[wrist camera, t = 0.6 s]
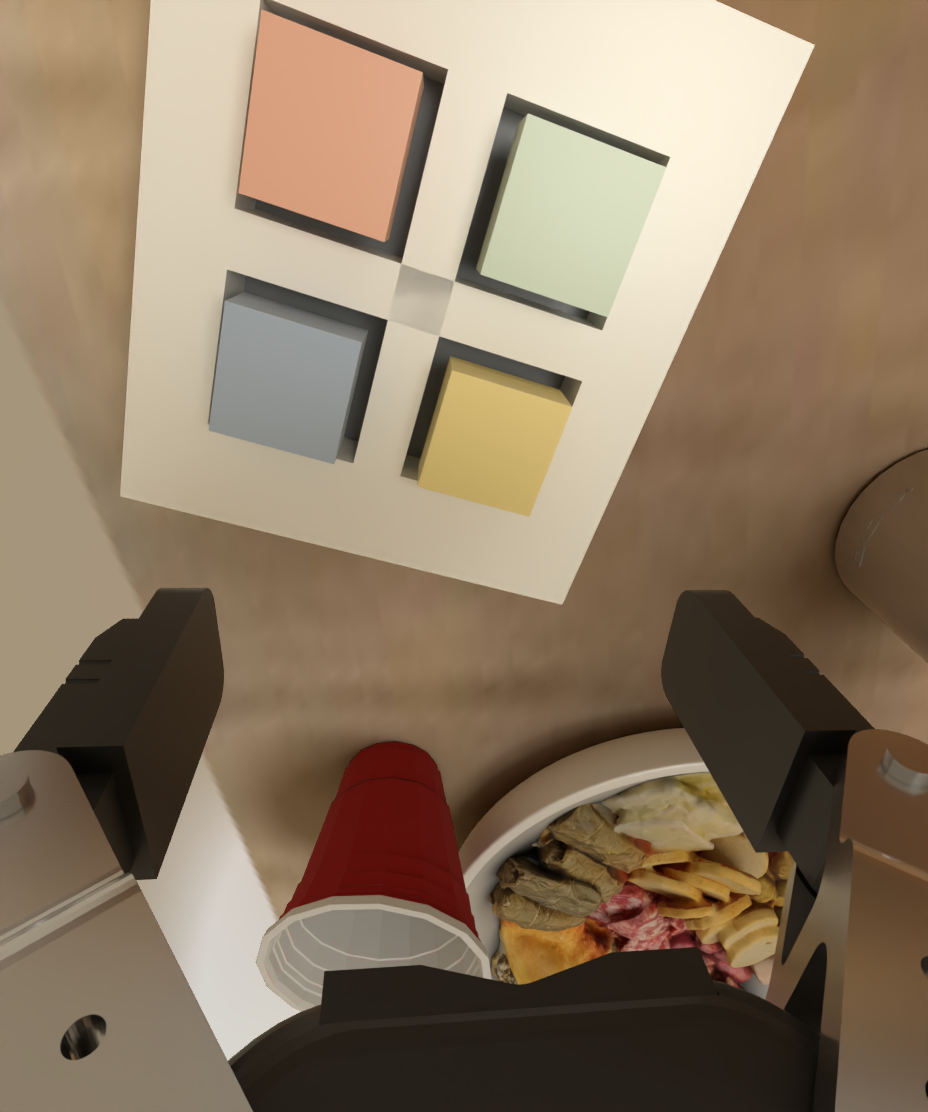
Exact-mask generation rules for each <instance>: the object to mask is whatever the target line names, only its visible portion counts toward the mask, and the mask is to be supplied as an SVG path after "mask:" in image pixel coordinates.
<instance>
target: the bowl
mask: <svg viewBox="0 0 928 1112" xmlns="http://www.w3.org/2000/svg"><path fill="white" fill-rule="evenodd" d="M458 853H459V858H460V863H461V868H462V873H463V878H464V883H465V888H466V892H467V893H468V895H469V900H470V906H471V913H472V915H473V916H474V920H475V927H476V931H477V932H478V936H479V939H480V940H481V943H482V944H483V945H484V946H485V947H486V949H487V953H488V957H489V964H490V972H491V980H496V981H501V982H506V983H510V984H518V985H519V984H527V983H531V982H534V981H537V980H539V979H542V978H545V977H547V976H550V975H552V974H555V973H558V972H560V971H563V970H566V969H568V968H571V967H574V966H576V965H579V964H582V963H584V962H587V961H590V960H592V959H595V958H598V957H600V956H603V955H605V954H608V953H611V952H625V951H641V950H656V949H672V948H687V947H698V948H699V950H700V952H701V955H702V957H703V960H704V962H705V964H706V967H707V969H708V972H709V974H710V976H711V979H712V980H715V981H720V982H723V983H726V984H729V985H732V986H735V987H738V988H741V989H744V990H746V991H748V992H750V993H752V994H754V995H757V996H759V997H761V998H763V999H765V998H766V995H767V991H768V987H769V983H770V978H771V972H772V967H773V961H774V955H775V949H776V944H777V938H778V932H779V926H780V921H781V915H782V909H783V903H784V898H785V892H786V886H787V880H788V876H789V873H790V871H791V869H792V867H793V864H794V862H795V861H794V859H793V858H792V856H791V855H790V853H789V851H784V852H763V853H756V852H755V851H754V849H753V847H752V845H751V844H750V842H749V840H748V838H747V837H746V835H745V833H744V831H743V830H742V828H741V826H740V824H739V823H738V821H737V819H736V817H735V816H734V814H733V812H732V810H731V809H730V807H729V805H728V803H727V802H726V800H725V798H724V796H723V795H722V793H721V791H720V789H719V788H718V786H717V784H716V782H715V781H714V779H713V777H712V776H711V774H710V772H709V770H708V769H707V767H706V765H705V763H704V762H703V760H702V758H701V756H700V755H699V753H698V751H697V749H696V748H695V746H694V744H693V742H692V741H691V739H690V737H689V735H688V734H687V732H686V730H685V728H675V729H666V730H658V731H651V732H645V733H640V734H635V735H630V736H626V737H622V738H618V739H614V740H611V741H607V742H604V743H601V744H598V745H595V746H592V747H589V748H586V749H584V750H581V751H579V752H576V753H574V754H571V755H569V756H567V757H565V758H563V759H561V760H559V761H557V762H555V763H553V764H551V765H549V766H547V767H545V768H544V769H542V770H540V771H539V772H537V773H535V774H534V775H532V776H531V777H529V778H528V779H526V780H525V781H523V782H522V783H520V784H519V785H518V786H516V787H515V788H514V789H512V790H511V791H510V792H509V793H507V794H506V795H505V796H504V797H503V798H502V799H500V800H499V801H498V802H497V803H496V804H495V805H494V806H493V807H492V808H491V809H490V810H489V811H488V812H487V813H486V814H485V815H484V817H483V818H482V819H481V820H480V821H479V822H478V824H477V825H476V826H475V827H474V829H473V830H472V831H471V833H470V834H469V836H468V837H467V839H466V840H465V842H464V843H463V845H462V847H461V849H460V850H459V852H458Z"/></svg>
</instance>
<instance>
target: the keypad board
mask: <svg viewBox="0 0 928 1112" xmlns="http://www.w3.org/2000/svg"><path fill="white" fill-rule="evenodd" d="M261 10H265V11H267V12H270V13H272V14H275V15H277V16H280V17H282V18H285V19H288V20H290V21H293V22H295V23H298V24H300V25H303V26H306V27H308V28H311V29H313V30H316V31H318V32H321V33H323V34H326V35H329V36H331V37H334V38H336V39H339V40H341V41H344V42H347V43H349V44H352V45H354V46H357V47H359V48H362V49H364V50H367V51H370V52H372V53H375V54H377V55H380V56H382V57H385V58H387V59H390V60H393V61H395V62H398V63H400V64H403V65H405V66H408V67H411V68H413V69H416V70H418V71H421V72H423V82H424V89H423V93H422V97H421V102H420V106H419V110H418V115H417V119H416V124H415V128H414V132H413V137H412V141H411V145H410V150H409V154H408V159H407V163H406V167H405V172H404V176H403V180H402V185H401V189H400V194H399V198H398V202H397V207H396V211H395V215H394V220H393V224H392V229H391V233H390V237H389V239H388V240H387V241H385V242H383V241H380V240H377V239H374V238H371V237H368V236H365V235H362V234H359V233H356V232H353V231H350V230H347V229H344V228H341V227H338V226H335V225H332V224H329V223H326V222H323V221H320V220H317V219H314V218H311V217H308V216H305V215H302V214H299V213H296V212H294V211H291V210H288V209H285V208H282V207H279V206H276V205H273V204H270V203H267V202H264V201H261V200H258V199H255V198H252V197H249V196H246V195H243V194H240V193H239V185H240V177H241V169H242V161H243V153H244V145H245V137H246V129H247V121H248V113H249V105H250V98H251V90H252V82H253V74H254V66H255V58H256V50H257V42H258V34H259V26H260V18H261ZM814 46H815V45H813V44H811V43H809V42H806V41H804V40H802V39H800V38H798V37H795V36H793V35H791V34H789V33H786V32H784V31H782V30H780V29H778V28H775V27H773V26H771V25H769V24H766V23H764V22H762V21H760V20H758V19H755V18H753V17H751V16H749V15H746V14H744V13H742V12H740V11H738V10H735V9H733V8H731V7H729V6H726V5H724V4H722V3H720V2H718V1H715V0H151V6H150V22H149V39H148V55H147V71H146V87H145V103H144V119H143V135H142V151H141V167H140V183H139V200H138V216H137V232H136V248H135V264H134V280H133V296H132V312H131V328H130V344H129V360H128V377H127V393H126V409H125V425H124V441H123V457H122V473H121V489H120V497H124V498H128V499H132V500H137V501H141V502H145V503H149V504H153V505H157V506H161V507H165V508H169V509H173V510H177V511H181V512H186V513H190V514H194V515H198V516H202V517H206V518H210V519H214V520H218V521H222V522H226V523H230V524H234V525H239V526H243V527H247V528H251V529H255V530H259V531H263V532H267V533H271V534H275V535H279V536H283V537H288V538H292V539H296V540H300V541H304V542H308V543H312V544H316V545H320V546H324V547H328V548H332V549H336V550H341V551H345V552H349V553H353V554H357V555H361V556H365V557H369V558H373V559H377V560H381V561H385V562H390V563H394V564H398V565H402V566H406V567H410V568H414V569H418V570H422V571H426V572H430V573H434V574H438V575H443V576H447V577H451V578H455V579H459V580H463V581H467V582H471V583H475V584H479V585H483V586H487V587H492V588H496V589H500V590H504V591H508V592H512V593H516V594H520V595H524V596H528V597H532V598H536V599H541V600H545V601H549V602H553V603H557V604H561V605H562V604H563V602H564V600H565V598H566V595H567V593H568V591H569V589H570V586H571V584H572V582H573V580H574V578H575V575H576V573H577V571H578V569H579V566H580V564H581V562H582V560H583V558H584V555H585V553H586V551H587V549H588V547H589V544H590V542H591V540H592V538H593V535H594V533H595V531H596V529H597V527H598V524H599V522H600V520H601V518H602V516H603V513H604V511H605V509H606V507H607V504H608V502H609V500H610V498H611V496H612V493H613V491H614V489H615V487H616V484H617V482H618V480H619V478H620V476H621V473H622V471H623V469H624V467H625V465H626V462H627V460H628V458H629V456H630V453H631V451H632V449H633V447H634V445H635V442H636V440H637V438H638V436H639V433H640V431H641V429H642V427H643V425H644V422H645V420H646V418H647V416H648V414H649V411H650V409H651V407H652V405H653V402H654V400H655V398H656V396H657V394H658V391H659V389H660V387H661V385H662V383H663V380H664V378H665V376H666V374H667V371H668V369H669V367H670V365H671V363H672V360H673V358H674V356H675V354H676V351H677V349H678V347H679V345H680V343H681V340H682V338H683V336H684V334H685V332H686V329H687V327H688V325H689V323H690V320H691V318H692V316H693V314H694V312H695V309H696V307H697V305H698V303H699V301H700V298H701V296H702V294H703V292H704V289H705V287H706V285H707V283H708V281H709V278H710V276H711V274H712V272H713V269H714V267H715V265H716V263H717V261H718V258H719V256H720V254H721V252H722V250H723V247H724V245H725V243H726V241H727V238H728V236H729V234H730V232H731V230H732V227H733V225H734V223H735V221H736V219H737V216H738V214H739V212H740V210H741V207H742V205H743V203H744V201H745V199H746V196H747V194H748V192H749V190H750V187H751V185H752V183H753V181H754V179H755V176H756V174H757V172H758V170H759V168H760V165H761V163H762V161H763V159H764V156H765V154H766V152H767V150H768V148H769V145H770V143H771V141H772V139H773V137H774V134H775V132H776V130H777V128H778V125H779V123H780V121H781V119H782V117H783V114H784V112H785V110H786V108H787V105H788V103H789V101H790V99H791V97H792V94H793V92H794V90H795V88H796V86H797V83H798V81H799V79H800V77H801V74H802V72H803V70H804V68H805V66H806V63H807V61H808V59H809V57H810V55H811V52H812V50H813V48H814ZM527 114H531V115H534V116H536V117H539V118H541V119H544V120H546V121H549V122H551V123H554V124H557V125H559V126H562V127H564V128H567V129H569V130H572V131H574V132H577V133H580V134H582V135H585V136H587V137H590V138H592V139H595V140H598V141H600V142H603V143H605V144H608V145H610V146H613V147H615V148H618V149H621V150H623V151H626V152H628V153H631V154H633V155H636V156H639V157H641V158H644V159H646V160H649V161H651V162H654V163H656V164H659V165H662V166H664V167H667V168H666V170H665V173H664V175H663V178H662V181H661V183H660V186H659V188H658V191H657V193H656V196H655V198H654V201H653V203H652V206H651V209H650V211H649V214H648V216H647V219H646V221H645V224H644V226H643V229H642V231H641V234H640V237H639V239H638V242H637V244H636V247H635V249H634V252H633V254H632V257H631V259H630V262H629V265H628V267H627V270H626V272H625V275H624V277H623V280H622V282H621V285H620V287H619V290H618V293H617V295H616V298H615V300H614V303H613V305H612V308H611V310H610V313H609V315H608V317H605V316H602V315H599V314H596V313H593V312H590V311H587V310H584V309H581V308H578V307H575V306H572V305H569V304H566V303H563V302H561V301H558V300H555V299H552V298H549V297H546V296H543V295H540V294H537V293H534V292H531V291H528V290H525V289H522V288H519V287H516V286H513V285H510V284H507V283H504V282H501V281H498V280H495V279H492V278H489V277H486V276H483V275H480V273H479V272H478V271H477V269H476V266H477V263H478V259H479V256H480V252H481V249H482V245H483V242H484V238H485V235H486V232H487V228H488V225H489V221H490V218H491V214H492V211H493V208H494V204H495V201H496V197H497V194H498V190H499V187H500V184H501V180H502V177H503V173H504V170H505V166H506V163H507V160H508V156H509V153H510V149H511V146H512V142H513V139H514V136H515V132H516V129H517V125H518V123H519V122H520V121H521V120H522V119H523V118H524V117H525V116H526V115H527ZM244 292H246V293H249V294H252V295H255V296H259V297H262V298H265V299H268V300H272V301H275V302H278V303H281V304H285V305H288V306H291V307H294V308H297V309H301V310H304V311H307V312H310V313H314V314H317V315H320V316H323V317H326V318H330V319H333V320H336V321H339V322H343V323H346V324H349V325H352V326H355V327H359V328H362V329H365V330H368V334H367V338H366V342H365V347H364V351H363V355H362V360H361V364H360V368H359V373H358V377H357V382H356V386H355V390H354V395H353V399H352V403H351V408H350V412H349V417H348V421H347V425H346V430H345V434H344V438H343V443H342V445H341V448H340V451H339V453H338V456H337V458H336V461H335V464H331V463H327V462H324V461H320V460H316V459H312V458H309V457H305V456H301V455H298V454H294V453H290V452H286V451H283V450H279V449H275V448H272V447H268V446H264V445H260V444H257V443H253V442H249V441H246V440H242V439H238V438H234V437H231V436H227V435H223V434H220V433H216V432H212V431H209V424H210V416H211V408H212V400H213V392H214V384H215V376H216V368H217V360H218V352H219V344H220V336H221V328H222V320H223V312H224V304H225V301H226V300H228V299H230V298H232V297H235V296H237V295H239V294H242V293H244ZM450 356H452V357H455V358H459V359H462V360H465V361H468V362H472V363H475V364H478V365H481V366H484V367H488V368H491V369H494V370H497V371H501V372H504V373H507V374H510V375H513V376H517V377H520V378H523V379H526V380H530V381H533V382H536V383H539V384H542V385H546V386H549V387H552V388H555V389H559V390H561V392H562V393H563V394H564V396H565V397H566V399H567V400H568V402H569V403H570V404H571V406H572V410H571V412H570V415H569V417H568V420H567V422H566V425H565V428H564V430H563V433H562V435H561V438H560V440H559V443H558V445H557V448H556V450H555V453H554V456H553V458H552V461H551V463H550V466H549V468H548V471H547V473H546V476H545V478H544V481H543V484H542V486H541V489H540V491H539V494H538V496H537V499H536V501H535V504H534V506H533V509H532V512H531V514H530V517H528V516H524V515H521V514H517V513H513V512H509V511H506V510H502V509H498V508H495V507H491V506H487V505H483V504H480V503H476V502H472V501H469V500H465V499H461V498H457V497H454V496H450V495H446V494H443V493H439V492H435V491H431V490H428V489H424V488H420V487H418V470H419V462H420V458H421V455H422V451H423V448H424V444H425V441H426V438H427V434H428V431H429V427H430V424H431V420H432V417H433V414H434V410H435V407H436V403H437V400H438V396H439V393H440V389H441V386H442V383H443V379H444V376H445V372H446V369H447V365H448V362H449V359H450Z"/></svg>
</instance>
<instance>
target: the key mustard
mask: <svg viewBox="0 0 928 1112" xmlns="http://www.w3.org/2000/svg"><path fill="white" fill-rule="evenodd" d="M571 410H572V406H571V404H570V403H569V402H568V400H567V399H566V397H565V396H564V394H563V393H562V392H561V390H559V389H555V388H552V387H549V386H546V385H542V384H539V383H536V382H533V381H530V380H526V379H523V378H520V377H517V376H513V375H510V374H507V373H504V372H501V371H497V370H494V369H491V368H488V367H484V366H481V365H478V364H475V363H472V362H468V361H465V360H462V359H459V358H455V357H452V356H450V359H449V362H448V365H447V369H446V372H445V376H444V379H443V383H442V386H441V389H440V393H439V396H438V400H437V403H436V407H435V410H434V414H433V417H432V420H431V424H430V427H429V431H428V434H427V438H426V441H425V444H424V448H423V451H422V455H421V458H420V462H419V470H418V487H420V488H424V489H428V490H431V491H435V492H439V493H443V494H446V495H450V496H454V497H457V498H461V499H465V500H469V501H472V502H476V503H480V504H483V505H487V506H491V507H495V508H498V509H502V510H506V511H509V512H513V513H517V514H521V515H524V516H528V517H530V514H531V512H532V509H533V506H534V504H535V501H536V499H537V496H538V494H539V491H540V489H541V486H542V484H543V481H544V478H545V476H546V473H547V471H548V468H549V466H550V463H551V461H552V458H553V456H554V453H555V450H556V448H557V445H558V443H559V440H560V438H561V435H562V433H563V430H564V428H565V425H566V422H567V420H568V417H569V415H570V412H571Z"/></svg>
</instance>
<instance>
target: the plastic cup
mask: <svg viewBox="0 0 928 1112" xmlns="http://www.w3.org/2000/svg"><path fill="white" fill-rule="evenodd" d="M256 964H257V966H258V968H259V970H260V972H261V975H262V977H263V979H264V981H265V983H266V986H267V987H268V988H269V989H270V990H272V991H273V992H274V993H275V994H277V995H278V996H279V997H280V998H282V999H283V1000H284V1001H285V1002H287V1003H288V1004H289V1005H290V1006H291V1007H293V1008H295V1009H297V1010H299V1011H304V1010H307V1009H310V1008H312V1007H315V1006H318V1005H320V1004H321V1000H322V990H323V979H324V971H334V970H349V969H364V968H380V967H395V966H410V965H424V966H429V967H434V968H439V969H443V970H448V971H453V972H458V973H462V974H467V975H472V976H477V977H482V978H486V979H491V972H490V964H489V957H488V953H487V949H486V947H485V946H484V945H483V944H482V943H481V940H480V939H479V936H478V932H477V931H476V927H475V920H474V916H473V915H472V913H471V906H470V900H469V895H468V893H467V892H466V888H465V883H464V878H463V873H462V868H461V863H460V858H459V853H458V849H457V844H456V839H455V834H454V829H453V824H452V819H451V814H450V809H449V806H448V805H447V803H446V799H445V794H444V789H443V784H442V779H441V774H440V772H439V770H438V768H437V764H436V763H435V762H434V761H433V759H432V758H431V757H430V755H429V754H428V753H426V752H425V751H423V750H421V749H419V748H417V747H416V746H414V745H410V744H405V743H400V742H388V743H377V744H375V745H372V746H370V747H368V748H365V749H363V750H361V751H360V752H359V753H358V754H357V755H356V756H355V757H354V758H353V759H352V760H351V761H350V764H349V766H348V767H347V768H346V770H345V773H344V775H343V778H342V781H341V784H340V787H339V790H338V792H337V795H336V798H335V800H334V801H333V802H332V804H331V806H330V809H329V811H328V814H327V817H326V819H325V822H324V824H323V827H322V829H321V832H320V835H319V837H318V840H317V842H316V845H315V847H314V850H313V853H312V855H311V858H310V860H309V863H308V865H307V868H306V870H305V873H304V876H303V878H302V881H301V882H300V883H299V884H298V886H297V888H296V891H295V893H294V895H293V898H292V900H291V901H290V902H289V903H288V904H287V907H286V909H285V911H284V913H283V915H282V916H280V918H279V920H278V921H277V922H276V923H275V924H273V925H272V926H271V927H270V928H269V929H268V930H267V931H266V933H265V934H264V936H263V938H262V941H261V945H260V949H259V953H258V956H257V960H256Z"/></svg>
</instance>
